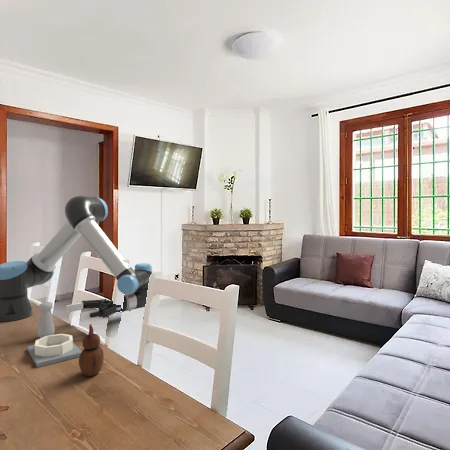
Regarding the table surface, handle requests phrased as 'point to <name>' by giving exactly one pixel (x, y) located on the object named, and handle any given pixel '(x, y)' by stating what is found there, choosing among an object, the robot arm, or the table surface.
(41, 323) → the salt shaker
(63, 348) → the ring holder
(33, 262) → the robot arm
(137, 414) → the table surface
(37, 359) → the slate board
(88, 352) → the wooden figurine
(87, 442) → the table surface
